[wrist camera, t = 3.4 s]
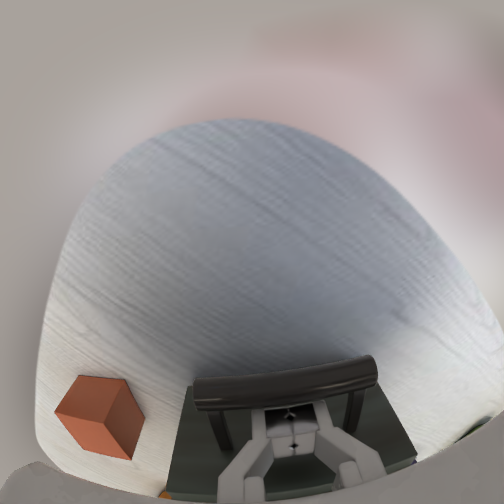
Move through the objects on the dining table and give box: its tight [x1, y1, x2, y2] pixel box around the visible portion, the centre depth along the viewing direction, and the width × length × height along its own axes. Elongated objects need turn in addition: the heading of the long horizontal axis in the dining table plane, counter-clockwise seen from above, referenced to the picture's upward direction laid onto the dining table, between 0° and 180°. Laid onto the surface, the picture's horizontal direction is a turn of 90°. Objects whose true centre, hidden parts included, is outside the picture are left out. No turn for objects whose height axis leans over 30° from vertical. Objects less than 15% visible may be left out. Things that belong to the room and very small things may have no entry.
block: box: [54, 375, 145, 460], centre depth 15 cm, size 4×4×4 cm
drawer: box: [166, 355, 417, 503], centre depth 13 cm, size 18×11×8 cm, turn 6°
